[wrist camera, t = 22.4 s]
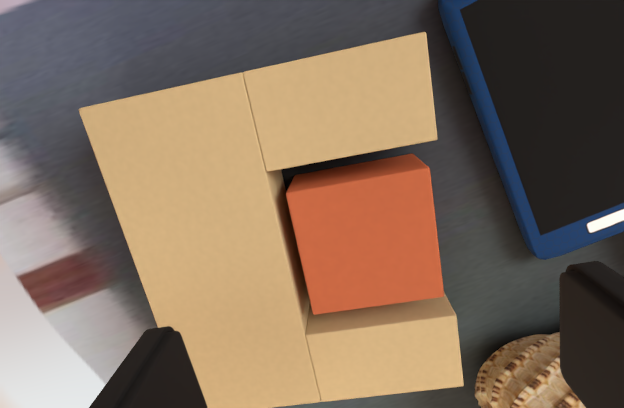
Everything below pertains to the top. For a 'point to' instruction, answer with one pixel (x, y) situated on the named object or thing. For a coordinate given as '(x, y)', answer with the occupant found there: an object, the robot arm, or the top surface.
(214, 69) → the top surface
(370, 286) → the foam block
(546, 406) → the seashell
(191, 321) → the tan u-shaped block
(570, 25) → the cell phone
